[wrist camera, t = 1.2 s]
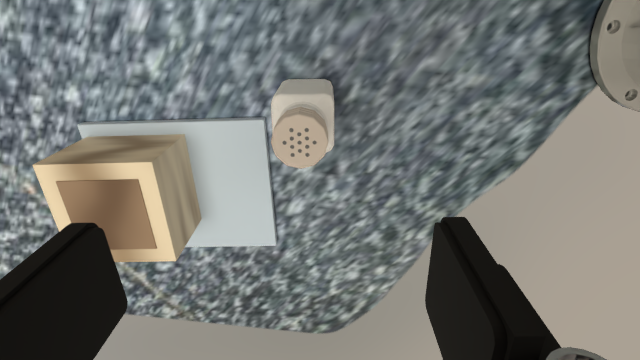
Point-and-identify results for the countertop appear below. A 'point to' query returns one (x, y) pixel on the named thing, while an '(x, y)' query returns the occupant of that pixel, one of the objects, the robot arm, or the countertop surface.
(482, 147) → the countertop surface
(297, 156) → the pepper shaker
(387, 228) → the countertop surface
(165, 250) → the plinth
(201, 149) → the pale grey rectangular plate
